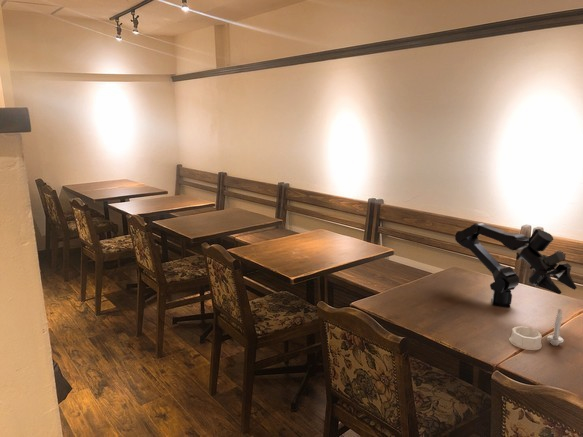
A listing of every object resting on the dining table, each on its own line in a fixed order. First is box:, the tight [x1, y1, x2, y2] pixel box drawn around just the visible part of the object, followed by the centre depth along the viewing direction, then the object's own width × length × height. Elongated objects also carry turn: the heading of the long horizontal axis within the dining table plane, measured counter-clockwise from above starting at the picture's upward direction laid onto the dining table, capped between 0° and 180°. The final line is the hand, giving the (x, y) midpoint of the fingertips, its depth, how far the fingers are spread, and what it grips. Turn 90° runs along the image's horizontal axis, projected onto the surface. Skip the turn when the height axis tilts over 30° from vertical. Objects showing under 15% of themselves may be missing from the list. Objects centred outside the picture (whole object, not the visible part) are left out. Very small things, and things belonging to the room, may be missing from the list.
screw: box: [546, 308, 564, 347], centre depth 159 cm, size 13×5×5 cm
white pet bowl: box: [509, 325, 543, 351], centre depth 160 cm, size 10×10×4 cm
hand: (568, 291), depth 167 cm, fingers open, 9 cm apart
